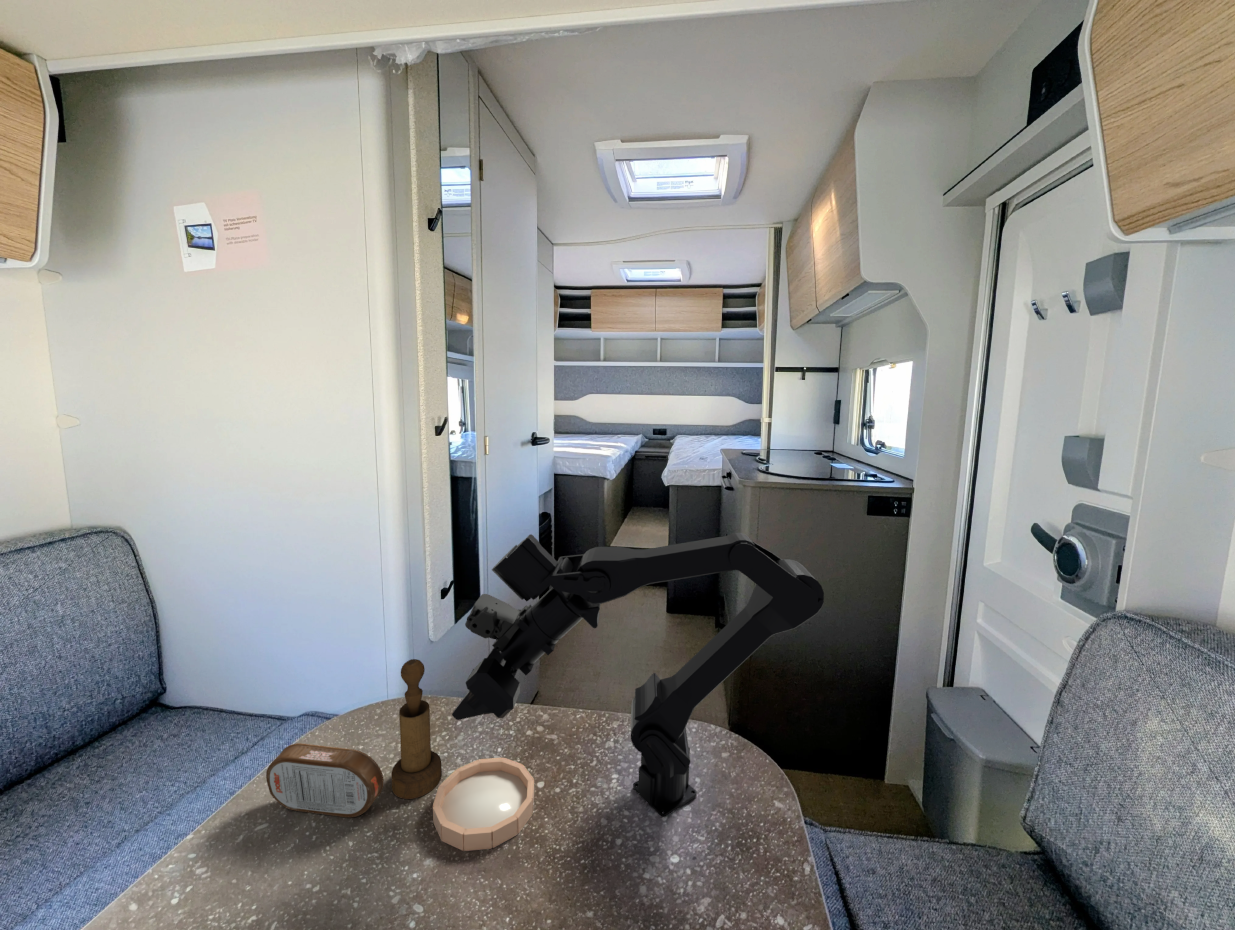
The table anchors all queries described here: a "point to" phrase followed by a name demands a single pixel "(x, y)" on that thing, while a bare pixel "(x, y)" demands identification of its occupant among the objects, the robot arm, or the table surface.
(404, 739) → the mortar and pestle
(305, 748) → the tin
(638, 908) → the table surface
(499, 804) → the bowl
